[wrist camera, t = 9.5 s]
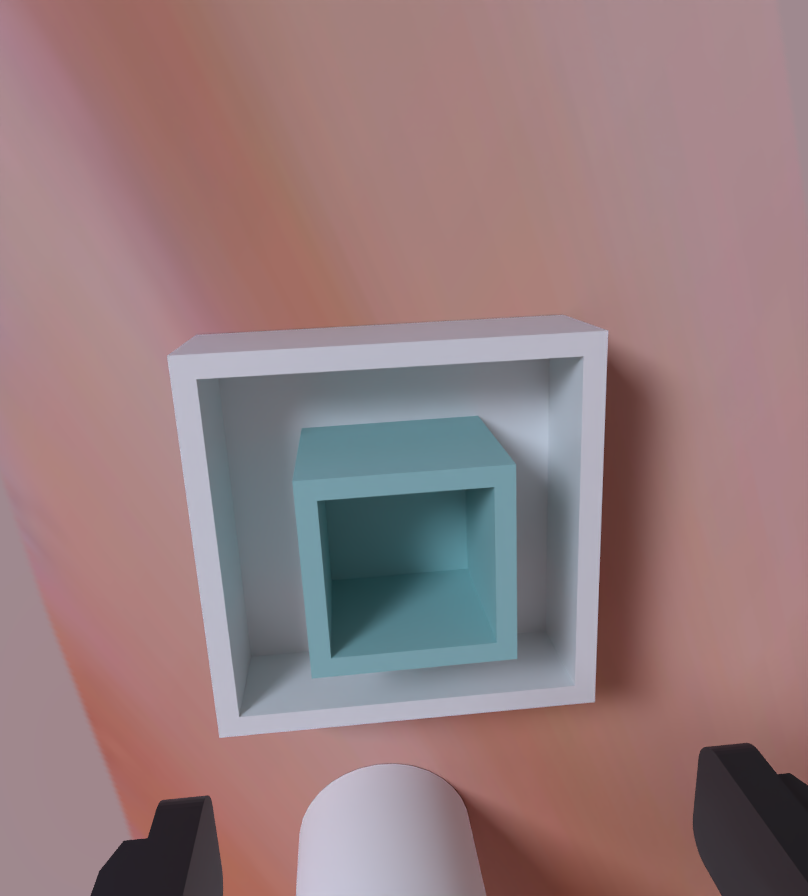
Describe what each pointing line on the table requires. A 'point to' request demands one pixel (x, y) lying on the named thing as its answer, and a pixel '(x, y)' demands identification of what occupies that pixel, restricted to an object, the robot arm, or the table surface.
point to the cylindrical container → (388, 837)
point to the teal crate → (406, 545)
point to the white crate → (375, 401)
